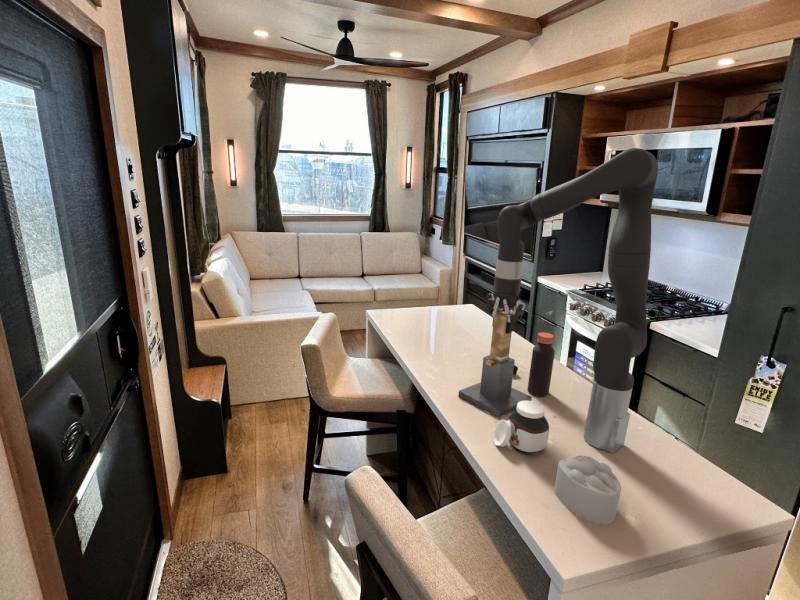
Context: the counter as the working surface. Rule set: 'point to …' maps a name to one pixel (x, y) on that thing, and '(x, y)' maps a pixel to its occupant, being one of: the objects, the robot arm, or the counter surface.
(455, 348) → the counter surface
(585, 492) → the lumpy-topped squat cylinder
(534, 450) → the spread jar
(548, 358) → the bottle
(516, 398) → the metal sleeve stand
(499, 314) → the oak post
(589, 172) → the robot arm
